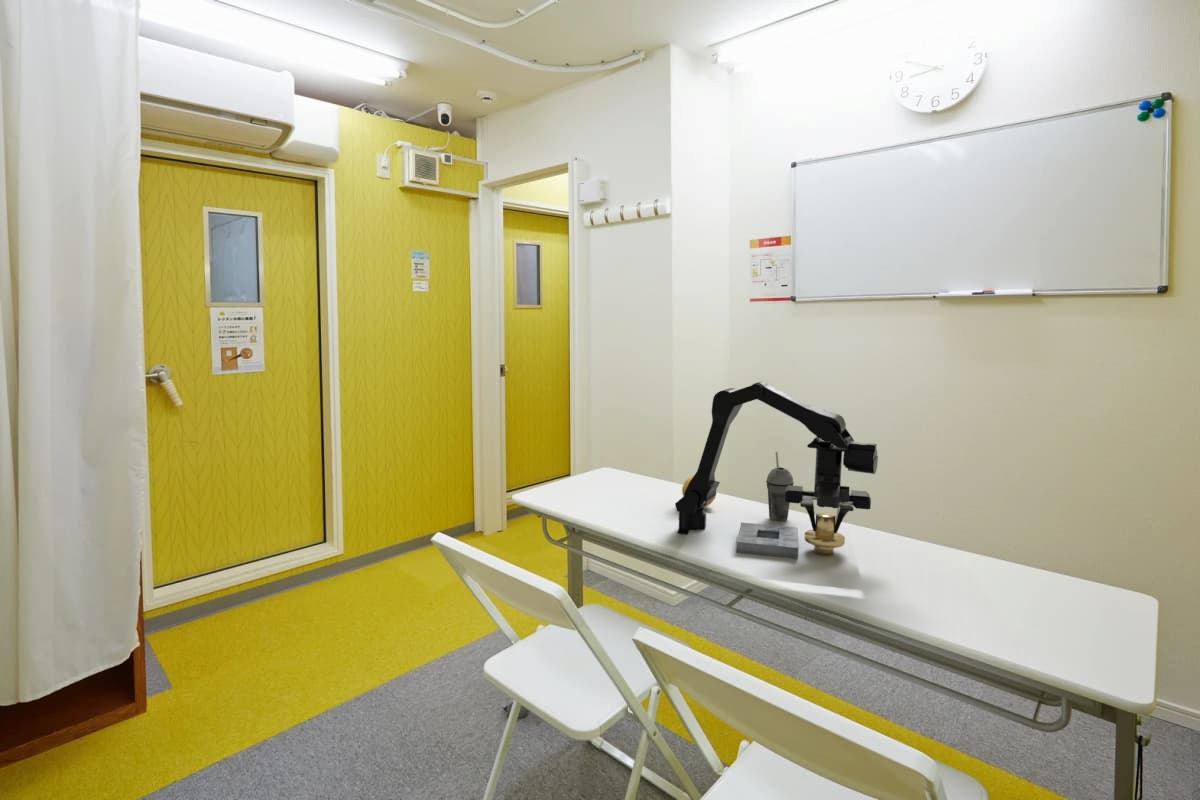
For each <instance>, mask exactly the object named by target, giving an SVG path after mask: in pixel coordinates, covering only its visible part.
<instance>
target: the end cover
mask: <svg viewBox="0 0 1200 800" xmlns="http://www.w3.org/2000/svg"><path fill="white" fill-rule="evenodd" d="M835 520H836V514H834V513H829V512H817V513H816V514H815V526H816V527H815V531H813V529H808V530H806V531H805V533H804V541H805V542H806V543H808V544H810V545H812V546H814V547H813V552H815V553H816V554H818V555H822V556H831V555H833V554H834V552H835V551H834V549H835V548H841V547H843V546H844V545H845V543H846V540H845V539H846V538H845V536H844V535H843V534H842V533H839V532H838V531H837V533H835Z"/></svg>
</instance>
